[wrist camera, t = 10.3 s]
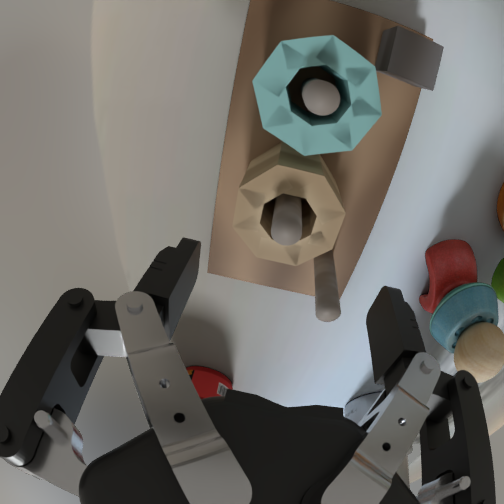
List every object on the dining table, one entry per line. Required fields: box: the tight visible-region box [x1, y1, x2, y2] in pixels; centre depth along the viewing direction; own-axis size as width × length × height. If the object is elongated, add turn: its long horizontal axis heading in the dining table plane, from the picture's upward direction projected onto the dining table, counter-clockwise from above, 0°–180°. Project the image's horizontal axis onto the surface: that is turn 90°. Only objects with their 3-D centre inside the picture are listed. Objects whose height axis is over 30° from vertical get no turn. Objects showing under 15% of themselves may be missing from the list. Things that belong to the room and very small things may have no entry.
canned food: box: [186, 366, 233, 399], centre depth 36 cm, size 8×8×11 cm
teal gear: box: [252, 35, 382, 156], centre depth 15 cm, size 6×6×5 cm
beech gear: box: [232, 142, 346, 266], centre depth 19 cm, size 6×6×5 cm
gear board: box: [207, 0, 444, 322], centre depth 18 cm, size 12×23×8 cm, turn 170°
